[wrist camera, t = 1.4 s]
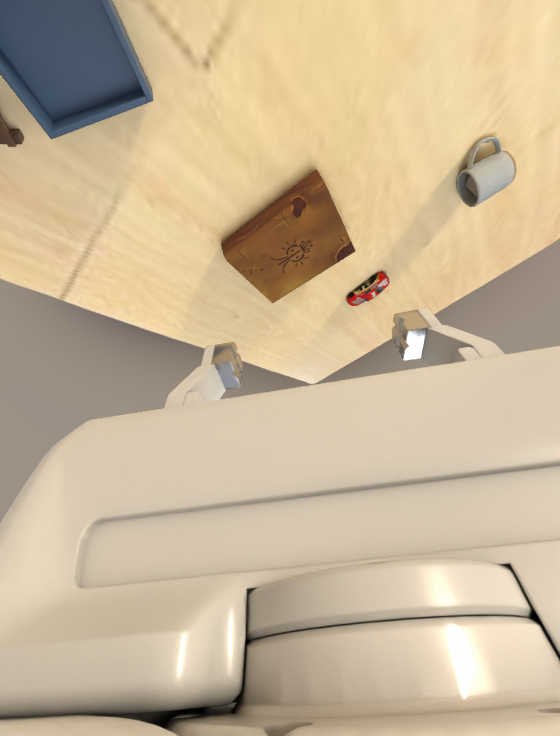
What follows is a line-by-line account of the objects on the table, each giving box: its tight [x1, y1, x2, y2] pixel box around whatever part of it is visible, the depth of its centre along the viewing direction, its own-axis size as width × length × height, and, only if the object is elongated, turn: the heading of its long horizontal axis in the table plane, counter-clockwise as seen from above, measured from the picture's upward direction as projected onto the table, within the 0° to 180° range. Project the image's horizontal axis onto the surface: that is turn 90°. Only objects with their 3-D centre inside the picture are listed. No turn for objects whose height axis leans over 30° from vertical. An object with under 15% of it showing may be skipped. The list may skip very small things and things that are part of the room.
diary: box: [221, 169, 355, 303], centre depth 63 cm, size 23×19×6 cm
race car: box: [347, 273, 389, 306], centre depth 85 cm, size 13×5×4 cm, turn 131°
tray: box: [0, 0, 153, 139], centre depth 33 cm, size 14×12×4 cm
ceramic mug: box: [457, 137, 516, 207], centre depth 59 cm, size 11×8×8 cm
